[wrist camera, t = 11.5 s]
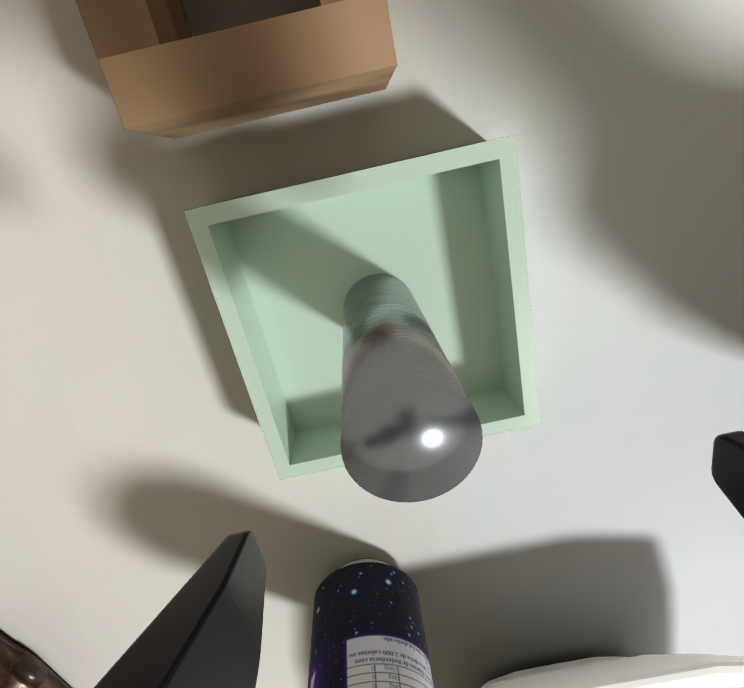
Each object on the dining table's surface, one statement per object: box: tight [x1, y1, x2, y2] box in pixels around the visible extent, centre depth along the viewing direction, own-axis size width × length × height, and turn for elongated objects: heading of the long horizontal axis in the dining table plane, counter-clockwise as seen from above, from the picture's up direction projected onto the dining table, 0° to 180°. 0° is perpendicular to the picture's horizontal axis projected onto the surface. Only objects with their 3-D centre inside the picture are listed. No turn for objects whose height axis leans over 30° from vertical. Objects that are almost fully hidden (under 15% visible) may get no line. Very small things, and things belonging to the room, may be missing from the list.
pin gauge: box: [340, 274, 483, 502], centre depth 14 cm, size 3×3×10 cm
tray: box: [184, 135, 541, 480], centre depth 18 cm, size 11×11×3 cm
